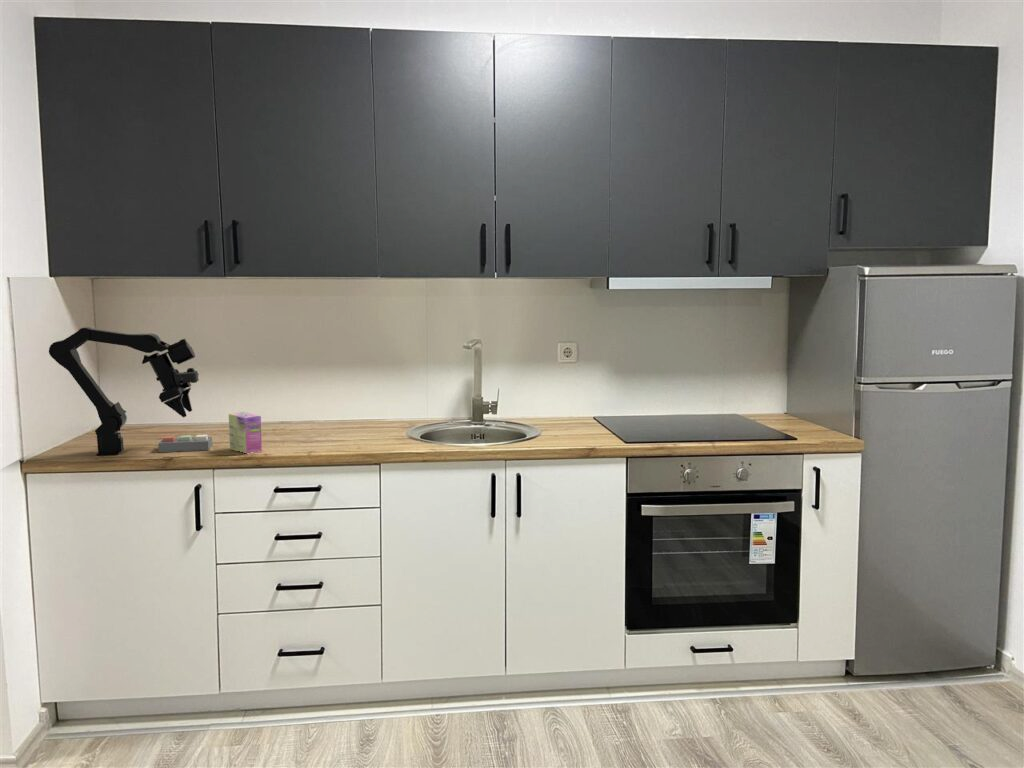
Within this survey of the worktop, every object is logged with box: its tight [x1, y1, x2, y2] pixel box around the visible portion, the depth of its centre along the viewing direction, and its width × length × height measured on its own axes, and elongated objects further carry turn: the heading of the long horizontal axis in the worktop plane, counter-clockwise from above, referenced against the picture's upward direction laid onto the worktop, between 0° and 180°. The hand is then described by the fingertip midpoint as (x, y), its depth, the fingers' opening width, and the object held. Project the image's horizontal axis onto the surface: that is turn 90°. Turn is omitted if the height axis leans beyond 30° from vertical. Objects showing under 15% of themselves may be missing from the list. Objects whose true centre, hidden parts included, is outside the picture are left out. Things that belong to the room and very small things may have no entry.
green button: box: [178, 434, 193, 441], centre depth 255 cm, size 3×3×2 cm
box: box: [228, 411, 263, 454], centre depth 252 cm, size 10×6×12 cm, turn 48°
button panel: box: [157, 436, 213, 453], centre depth 256 cm, size 15×8×3 cm, turn 101°
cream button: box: [195, 434, 209, 441], centre depth 256 cm, size 3×3×2 cm
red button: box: [162, 435, 177, 442], centre depth 254 cm, size 3×3×2 cm
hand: (187, 414), depth 254 cm, fingers open, 9 cm apart
